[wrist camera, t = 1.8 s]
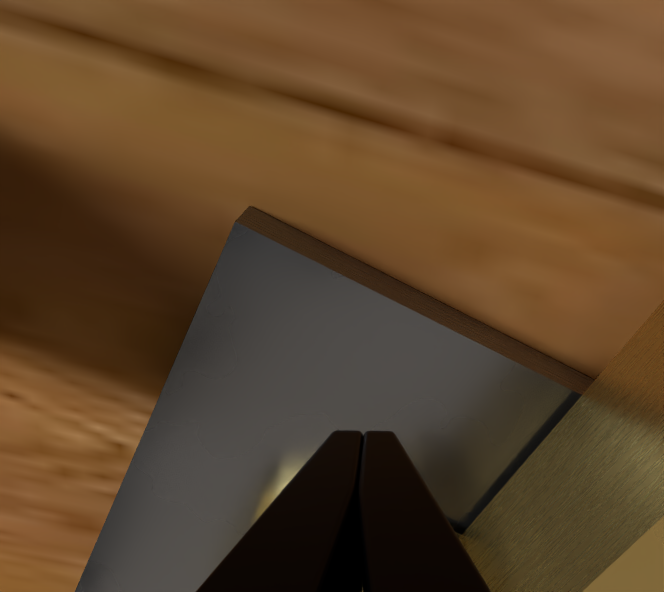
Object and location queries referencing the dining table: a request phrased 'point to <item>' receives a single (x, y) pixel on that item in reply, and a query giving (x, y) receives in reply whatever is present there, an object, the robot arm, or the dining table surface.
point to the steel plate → (315, 403)
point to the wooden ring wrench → (587, 489)
